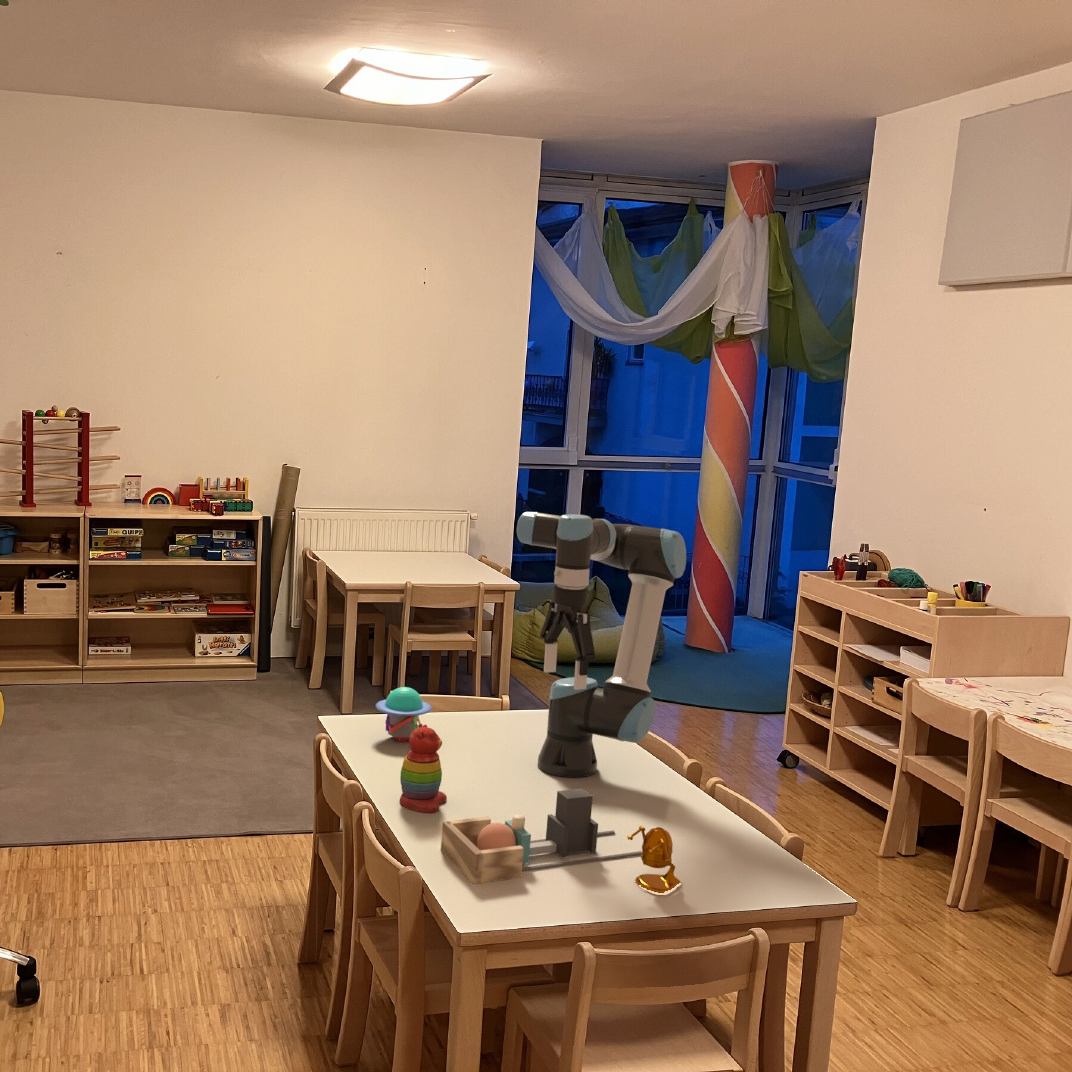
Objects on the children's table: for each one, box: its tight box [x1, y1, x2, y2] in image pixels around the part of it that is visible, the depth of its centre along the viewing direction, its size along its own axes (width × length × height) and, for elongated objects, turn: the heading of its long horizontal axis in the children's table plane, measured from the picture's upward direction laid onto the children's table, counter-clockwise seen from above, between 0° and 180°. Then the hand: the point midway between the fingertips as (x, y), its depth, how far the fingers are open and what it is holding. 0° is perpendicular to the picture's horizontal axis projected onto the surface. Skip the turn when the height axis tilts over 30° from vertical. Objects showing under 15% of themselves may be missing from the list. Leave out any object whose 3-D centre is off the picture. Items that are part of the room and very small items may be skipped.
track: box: [522, 830, 642, 873], centre depth 242 cm, size 29×12×1 cm, turn 117°
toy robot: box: [375, 686, 433, 742], centre depth 307 cm, size 15×15×14 cm
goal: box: [440, 816, 524, 885], centre depth 232 cm, size 10×17×6 cm, turn 27°
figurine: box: [627, 825, 682, 893], centre depth 227 cm, size 8×11×12 cm
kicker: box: [504, 788, 599, 865], centre depth 239 cm, size 20×8×12 cm, turn 117°
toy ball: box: [477, 822, 516, 850], centre depth 233 cm, size 8×8×8 cm
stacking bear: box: [399, 724, 448, 814], centre depth 261 cm, size 11×10×18 cm
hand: (564, 680), depth 254 cm, fingers open, 13 cm apart
